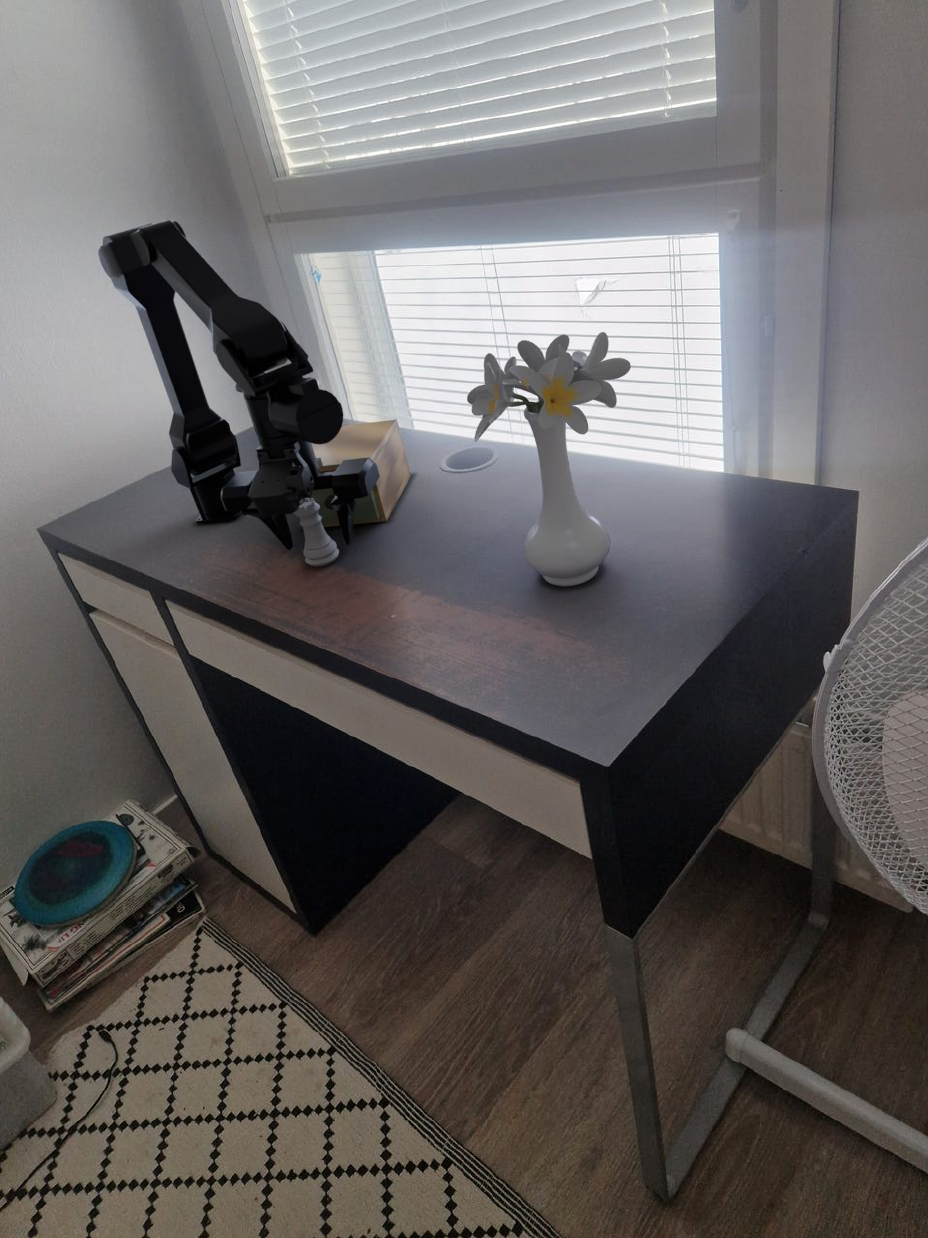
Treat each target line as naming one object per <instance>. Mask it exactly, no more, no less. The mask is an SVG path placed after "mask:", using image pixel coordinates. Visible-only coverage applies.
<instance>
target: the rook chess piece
mask: <svg viewBox="0 0 928 1238" xmlns="http://www.w3.org/2000/svg"><path fill="white" fill-rule="evenodd" d="M305 500H306V502H304V503H303V501H302V500H301V501H300V502H299V508H298V509H297V511H295V512H294V513H293V515H295V516H296V517H297V518H299V520H300V521H299V526H300V527H302V530H303V536H304V545H303V546H304V549H303V556H304V557H305V559H304V560H305V563H306V564H307V565H309V566H311V567H315V568H319V567H324V566H327V565H329V564H332V563H333V562H335V561H336V560H337V559H338V556H339V553H340V550H339V548H338V546H337V545H338V544H337V542H336V541H335V540H333V539H332V537H331V536H329V535H328V533H327V532H326V530H325V527H323V525H322V523H321V519H322V517H321V516H320V515H319V514H318V511H319V508H320V505H319V504H317V503H316V502H315V500H314V499H313V498H312V499H311V501H310V499H309V498H305Z"/></svg>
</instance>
